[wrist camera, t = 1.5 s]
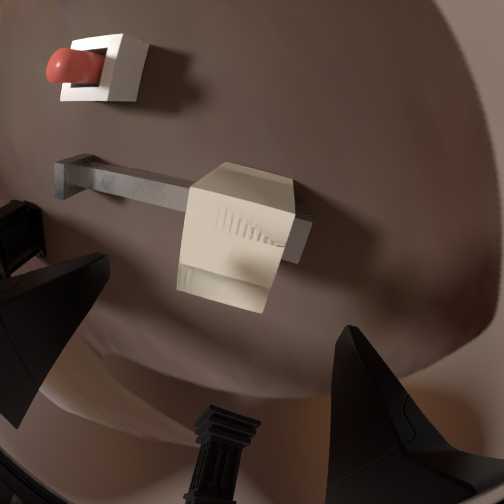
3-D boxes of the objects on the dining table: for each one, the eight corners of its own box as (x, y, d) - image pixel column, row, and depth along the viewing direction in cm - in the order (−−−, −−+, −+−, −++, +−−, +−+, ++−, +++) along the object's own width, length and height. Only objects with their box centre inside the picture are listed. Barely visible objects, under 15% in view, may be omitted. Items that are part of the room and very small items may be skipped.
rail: (296, 239, 21) (298, 264, 18) (82, 184, 21) (54, 197, 18) (308, 203, 20) (312, 222, 17) (84, 153, 20) (54, 162, 17)
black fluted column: (195, 422, 38) (164, 526, 20) (210, 404, 34) (176, 529, 16) (239, 437, 39) (219, 539, 21) (260, 421, 35) (242, 542, 17)
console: (135, 101, 18) (107, 101, 14) (90, 99, 18) (59, 101, 14) (149, 44, 15) (123, 33, 12) (101, 47, 15) (72, 40, 12)
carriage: (271, 250, 22) (262, 313, 15) (210, 234, 22) (176, 289, 15) (292, 179, 19) (295, 214, 12) (225, 161, 19) (190, 186, 12)
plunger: (110, 84, 15) (66, 81, 11) (88, 84, 15) (43, 84, 11) (117, 54, 14) (74, 45, 10) (94, 56, 14) (50, 50, 10)
